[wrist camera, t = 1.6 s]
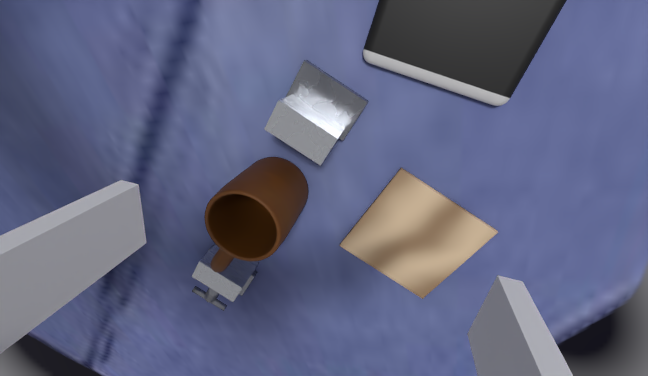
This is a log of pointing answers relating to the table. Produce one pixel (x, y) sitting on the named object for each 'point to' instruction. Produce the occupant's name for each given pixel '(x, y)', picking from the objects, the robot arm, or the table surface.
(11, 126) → the table surface
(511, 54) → the smartphone
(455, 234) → the coaster
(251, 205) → the mug
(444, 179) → the table surface
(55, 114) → the table surface
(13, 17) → the table surface
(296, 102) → the grey angular pieces
